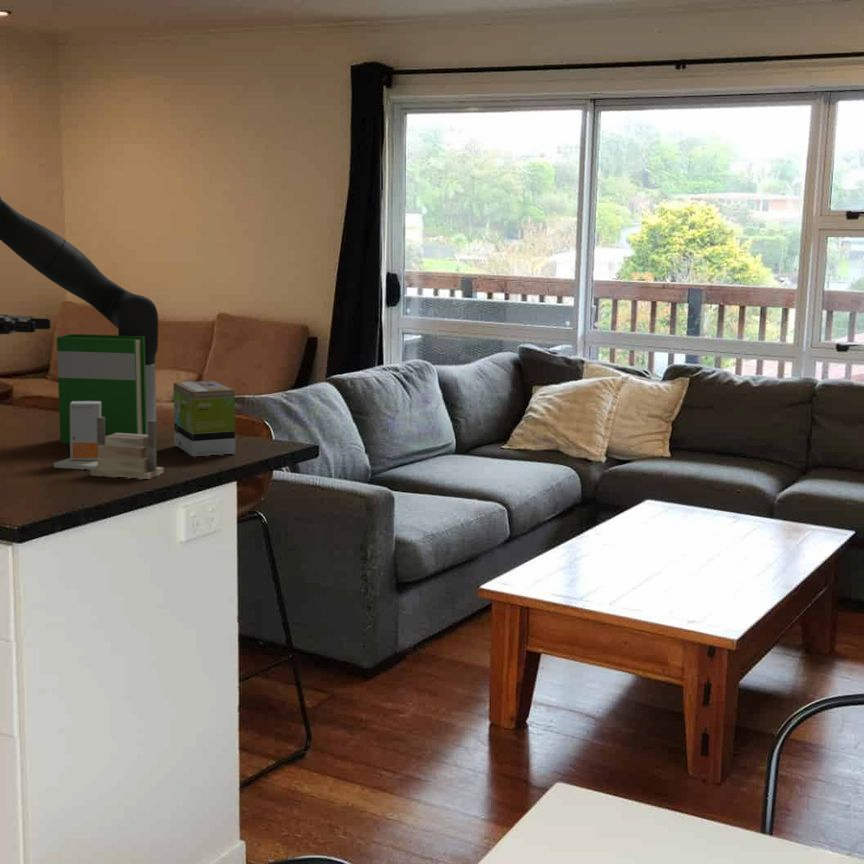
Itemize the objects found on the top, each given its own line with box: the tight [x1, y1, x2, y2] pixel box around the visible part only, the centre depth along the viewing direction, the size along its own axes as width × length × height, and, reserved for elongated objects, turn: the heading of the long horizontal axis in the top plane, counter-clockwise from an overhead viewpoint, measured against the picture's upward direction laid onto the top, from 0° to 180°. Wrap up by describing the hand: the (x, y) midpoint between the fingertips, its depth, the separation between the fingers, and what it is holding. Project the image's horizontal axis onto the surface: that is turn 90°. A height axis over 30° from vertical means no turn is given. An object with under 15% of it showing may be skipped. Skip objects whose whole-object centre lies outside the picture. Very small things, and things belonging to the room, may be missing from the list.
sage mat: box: [53, 457, 98, 471], centre depth 252 cm, size 13×9×1 cm
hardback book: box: [56, 333, 147, 444], centre depth 275 cm, size 18×7×24 cm, turn 86°
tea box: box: [173, 380, 236, 458], centre depth 268 cm, size 15×10×15 cm, turn 27°
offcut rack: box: [89, 417, 165, 480], centre depth 241 cm, size 7×12×11 cm, turn 77°
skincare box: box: [69, 401, 101, 461], centre depth 251 cm, size 6×4×12 cm
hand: (42, 325), depth 253 cm, fingers open, 8 cm apart
